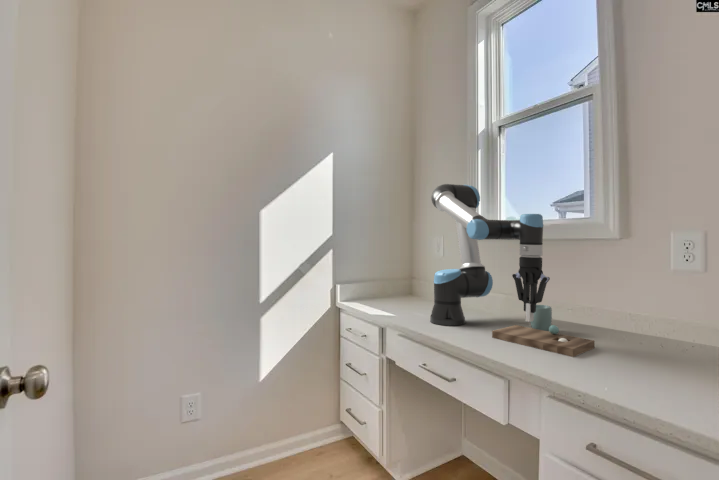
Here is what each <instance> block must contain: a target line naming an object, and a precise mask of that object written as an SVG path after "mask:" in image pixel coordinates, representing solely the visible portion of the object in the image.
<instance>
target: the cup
mask: <svg viewBox="0 0 719 480" xmlns="http://www.w3.org/2000/svg"><path fill="white" fill-rule="evenodd" d="M552 322H553V308H552V306H550V305H544V304H536V312H535V313H534V319H533V321H531V322H529V323H530V328H533V329H538V330H544V331H549V327H550V326H552V325H553V324H552ZM549 332H550V331H549Z"/></svg>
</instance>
